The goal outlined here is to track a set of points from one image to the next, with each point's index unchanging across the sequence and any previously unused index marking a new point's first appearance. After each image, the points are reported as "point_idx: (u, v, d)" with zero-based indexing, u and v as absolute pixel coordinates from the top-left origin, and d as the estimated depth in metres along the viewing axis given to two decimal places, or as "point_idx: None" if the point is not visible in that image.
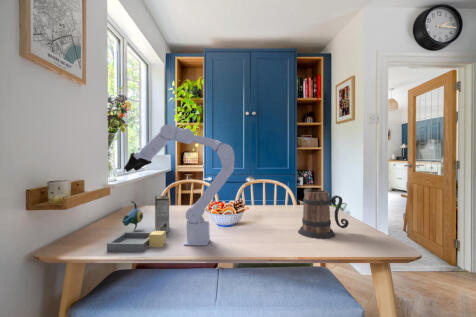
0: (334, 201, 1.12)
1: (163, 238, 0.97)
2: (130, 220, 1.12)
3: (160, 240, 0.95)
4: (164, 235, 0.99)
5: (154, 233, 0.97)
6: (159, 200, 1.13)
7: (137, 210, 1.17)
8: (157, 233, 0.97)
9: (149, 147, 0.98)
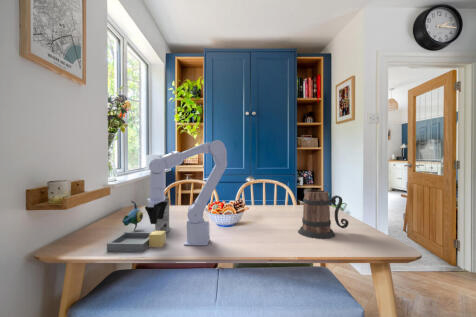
0: (334, 201, 1.12)
1: (163, 238, 0.97)
2: (130, 220, 1.12)
3: (160, 240, 0.95)
4: (164, 235, 0.99)
5: (154, 233, 0.97)
6: None
7: (137, 210, 1.17)
8: (157, 233, 0.97)
9: (154, 190, 0.95)
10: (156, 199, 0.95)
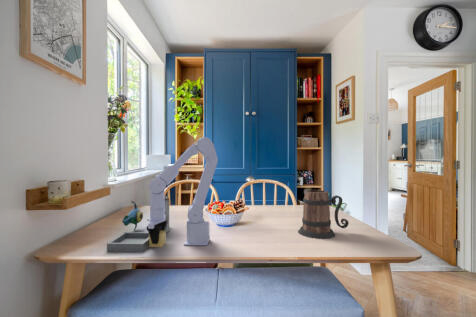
0: (334, 201, 1.12)
1: (163, 238, 0.97)
2: (130, 220, 1.12)
3: (160, 240, 0.95)
4: (164, 235, 0.99)
5: None
6: None
7: (137, 210, 1.17)
8: None
9: (154, 211, 0.95)
10: (156, 219, 0.95)
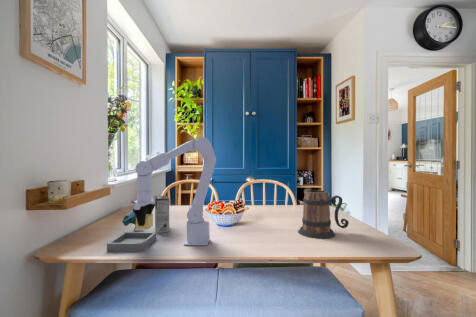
0: (334, 201, 1.12)
1: (150, 221, 0.97)
2: (130, 220, 1.12)
3: (147, 222, 0.95)
4: (151, 218, 0.99)
5: None
6: (159, 200, 1.13)
7: None
8: None
9: (141, 193, 0.95)
10: (143, 201, 0.95)
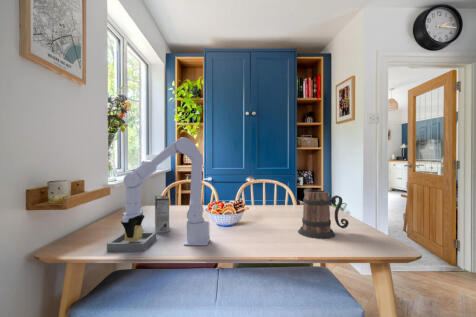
0: (334, 201, 1.12)
1: (139, 232, 0.98)
2: None
3: (136, 234, 0.96)
4: (140, 229, 0.99)
5: None
6: (159, 200, 1.13)
7: None
8: None
9: (129, 205, 0.95)
10: (131, 213, 0.95)
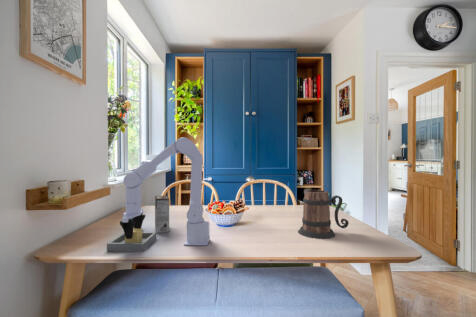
0: (334, 201, 1.12)
1: (139, 235, 0.98)
2: None
3: (136, 237, 0.96)
4: (140, 233, 0.99)
5: None
6: (159, 200, 1.13)
7: None
8: (133, 231, 0.97)
9: (129, 205, 0.95)
10: (131, 214, 0.95)
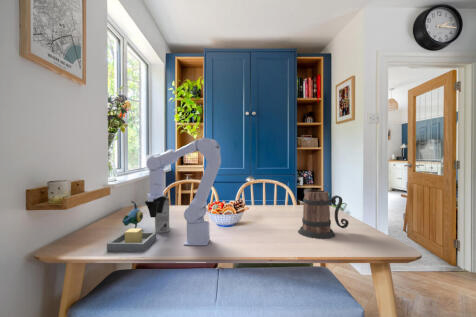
0: (334, 201, 1.12)
1: (139, 235, 0.98)
2: (130, 220, 1.12)
3: (136, 237, 0.96)
4: (140, 233, 0.99)
5: (130, 231, 0.97)
6: None
7: (137, 210, 1.17)
8: (133, 231, 0.97)
9: (153, 186, 1.02)
10: (155, 194, 1.02)
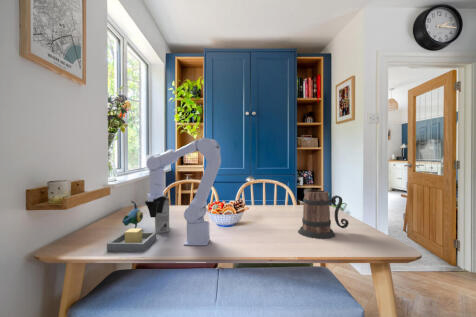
0: (334, 201, 1.12)
1: (139, 235, 0.98)
2: (130, 220, 1.12)
3: (136, 237, 0.96)
4: (140, 233, 0.99)
5: (130, 231, 0.97)
6: None
7: (137, 210, 1.17)
8: (133, 231, 0.97)
9: (153, 186, 1.02)
10: (155, 194, 1.02)
